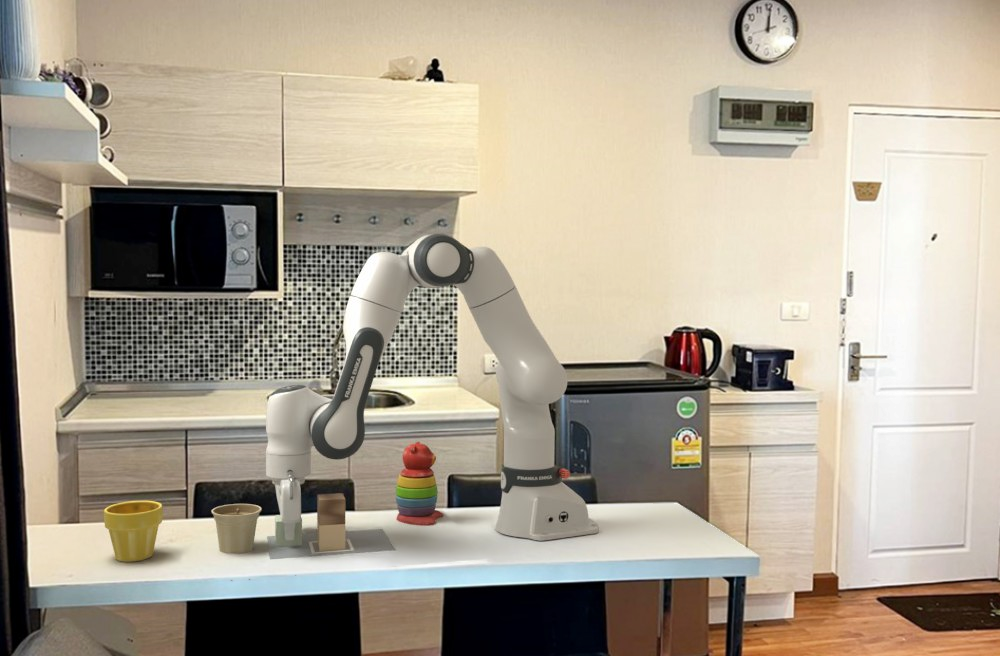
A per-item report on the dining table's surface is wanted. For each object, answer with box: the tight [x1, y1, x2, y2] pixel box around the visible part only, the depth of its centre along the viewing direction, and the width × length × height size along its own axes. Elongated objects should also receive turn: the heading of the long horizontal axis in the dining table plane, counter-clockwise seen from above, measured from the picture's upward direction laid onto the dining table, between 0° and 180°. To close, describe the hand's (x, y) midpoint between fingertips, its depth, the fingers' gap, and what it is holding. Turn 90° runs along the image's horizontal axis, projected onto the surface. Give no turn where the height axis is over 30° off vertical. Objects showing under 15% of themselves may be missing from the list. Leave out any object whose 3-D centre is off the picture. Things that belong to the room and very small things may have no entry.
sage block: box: [274, 514, 303, 547], centre depth 179 cm, size 5×5×5 cm
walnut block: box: [316, 492, 346, 526], centre depth 176 cm, size 5×5×5 cm
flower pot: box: [211, 503, 263, 555], centre depth 174 cm, size 9×9×9 cm
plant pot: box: [103, 500, 163, 563], centre depth 170 cm, size 10×10×10 cm
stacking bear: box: [395, 441, 444, 527], centre depth 198 cm, size 11×10×18 cm
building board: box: [266, 519, 396, 560], centre depth 179 cm, size 24×16×6 cm, turn 107°
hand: (288, 534), depth 179 cm, fingers open, 6 cm apart
